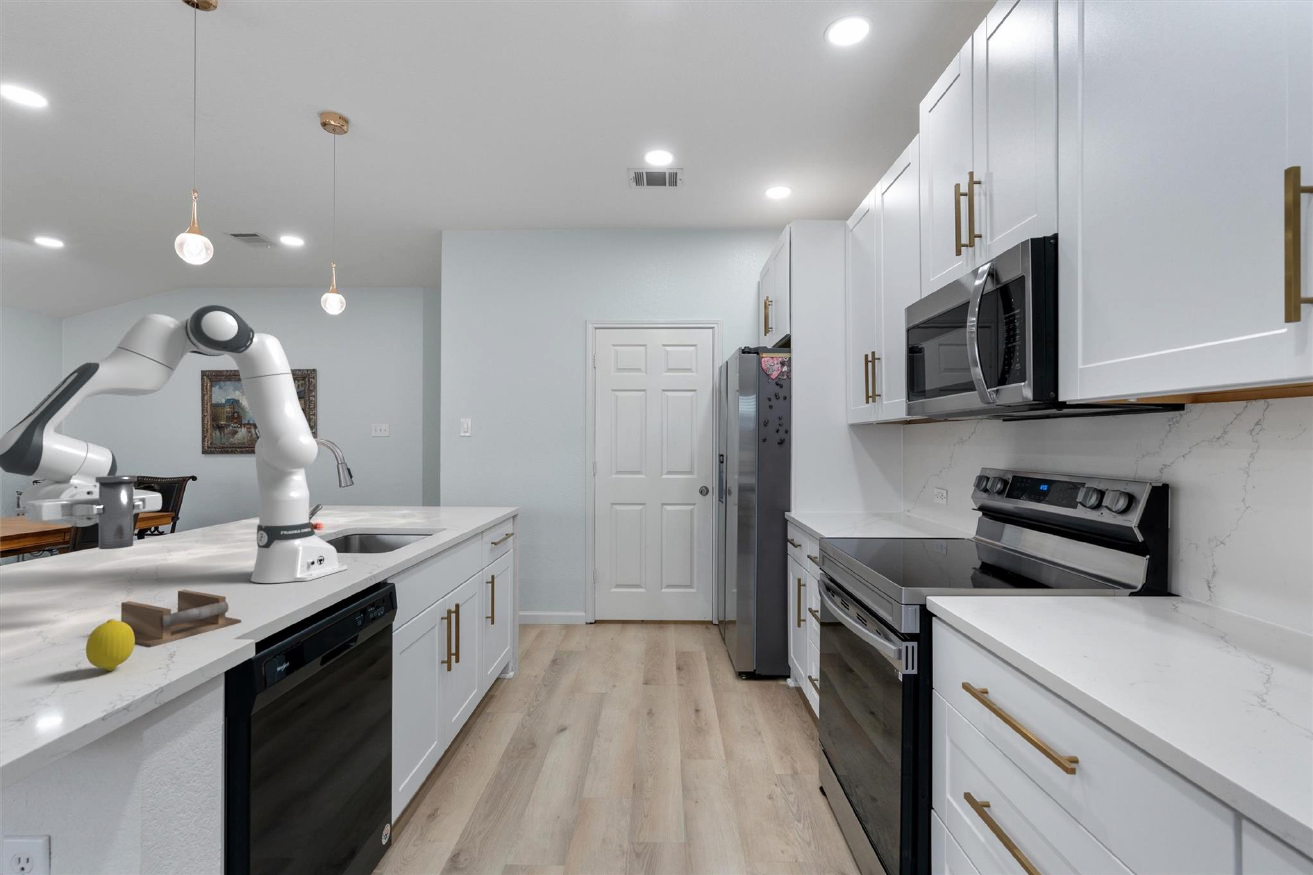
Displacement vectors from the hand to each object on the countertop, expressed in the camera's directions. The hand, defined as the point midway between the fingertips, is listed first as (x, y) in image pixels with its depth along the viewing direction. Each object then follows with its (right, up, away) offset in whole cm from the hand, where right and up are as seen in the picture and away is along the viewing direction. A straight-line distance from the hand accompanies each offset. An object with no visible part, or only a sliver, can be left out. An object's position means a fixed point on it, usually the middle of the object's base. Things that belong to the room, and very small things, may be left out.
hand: (119, 508), depth 114 cm
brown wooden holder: (+14, -22, -4) cm, 27 cm away
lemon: (+21, -23, -24) cm, 39 cm away
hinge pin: (-1, -8, 0) cm, 8 cm away
